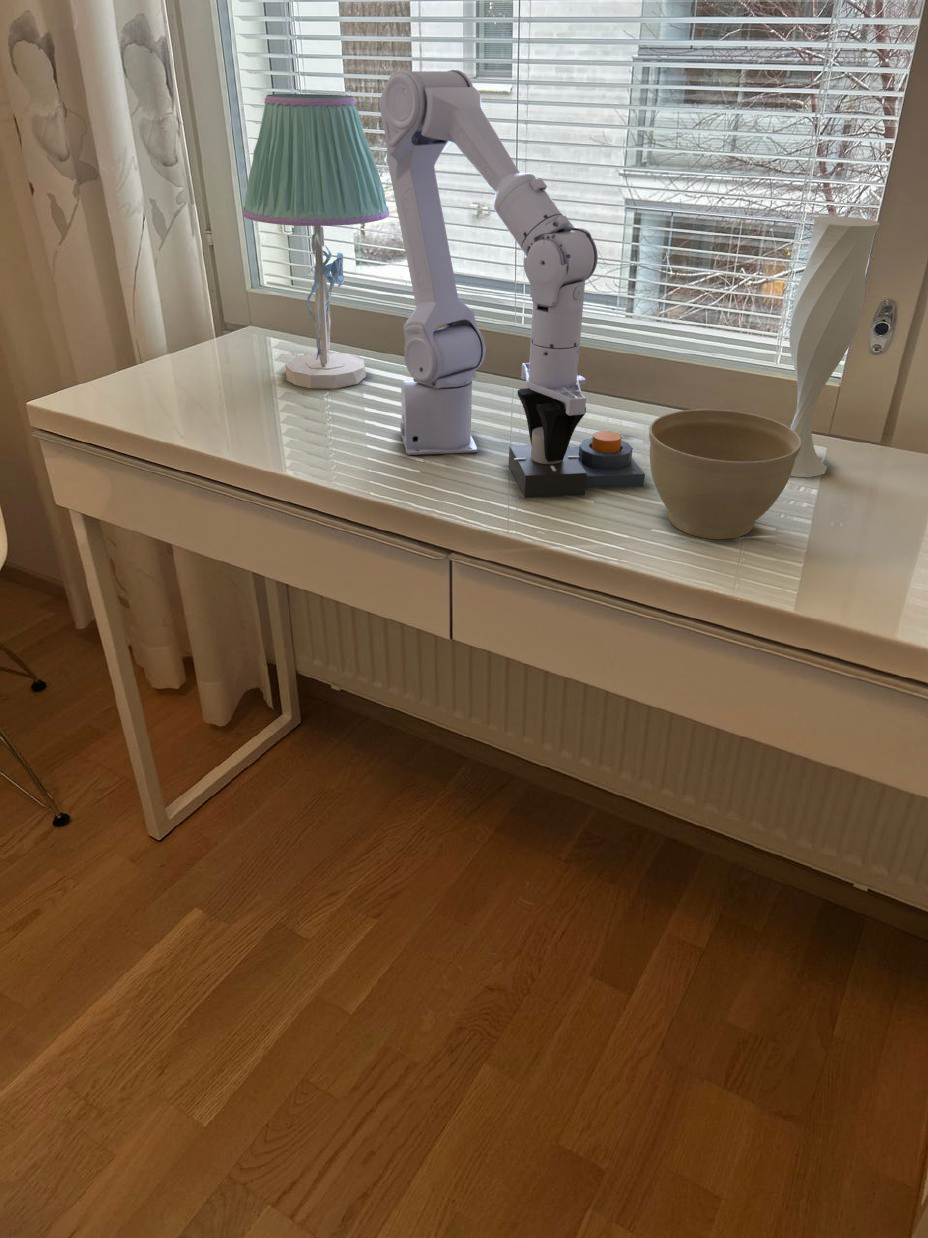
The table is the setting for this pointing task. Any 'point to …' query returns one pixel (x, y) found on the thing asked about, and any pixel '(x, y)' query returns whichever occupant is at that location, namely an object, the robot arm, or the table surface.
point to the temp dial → (539, 447)
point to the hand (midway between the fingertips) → (547, 453)
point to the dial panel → (546, 474)
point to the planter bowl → (720, 468)
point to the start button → (606, 442)
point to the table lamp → (316, 203)
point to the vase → (826, 317)
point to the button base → (609, 466)
